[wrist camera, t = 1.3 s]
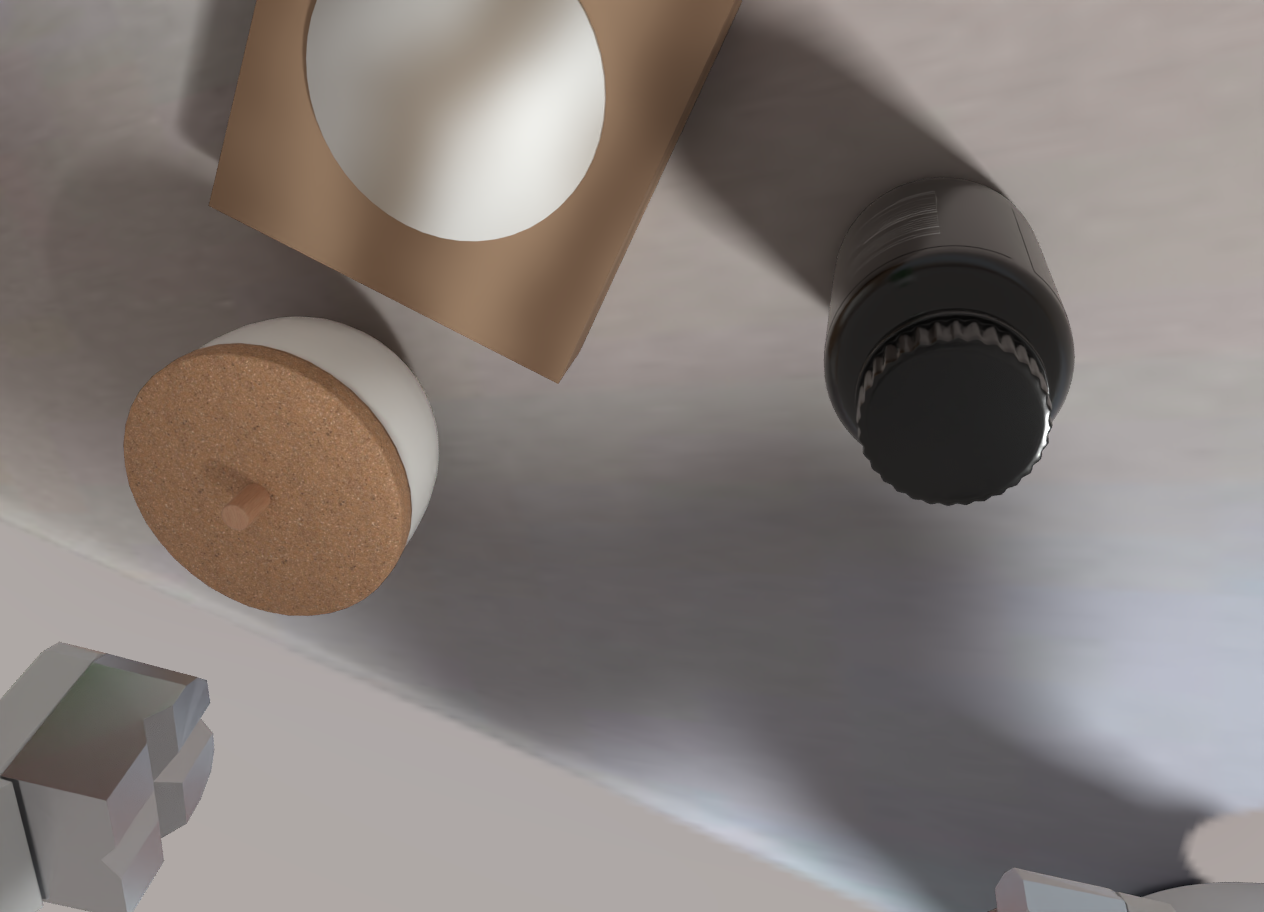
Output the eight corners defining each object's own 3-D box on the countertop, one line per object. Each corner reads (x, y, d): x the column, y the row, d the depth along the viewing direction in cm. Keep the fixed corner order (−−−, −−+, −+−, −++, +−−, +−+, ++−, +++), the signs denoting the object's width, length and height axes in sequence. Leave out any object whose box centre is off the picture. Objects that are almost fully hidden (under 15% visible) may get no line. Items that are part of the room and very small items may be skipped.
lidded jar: (263, 506, 49) (138, 632, 41) (208, 276, 44) (52, 367, 36) (491, 521, 47) (404, 657, 39) (458, 280, 42) (352, 378, 34)
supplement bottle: (830, 358, 40) (804, 528, 30) (841, 170, 37) (816, 288, 27) (1028, 369, 39) (1072, 551, 28) (1057, 174, 36) (1119, 301, 25)
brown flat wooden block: (773, -67, 34) (761, -61, 31) (579, 352, 42) (555, 387, 39) (368, -278, 34) (319, -291, 31) (251, 184, 42) (204, 207, 39)
